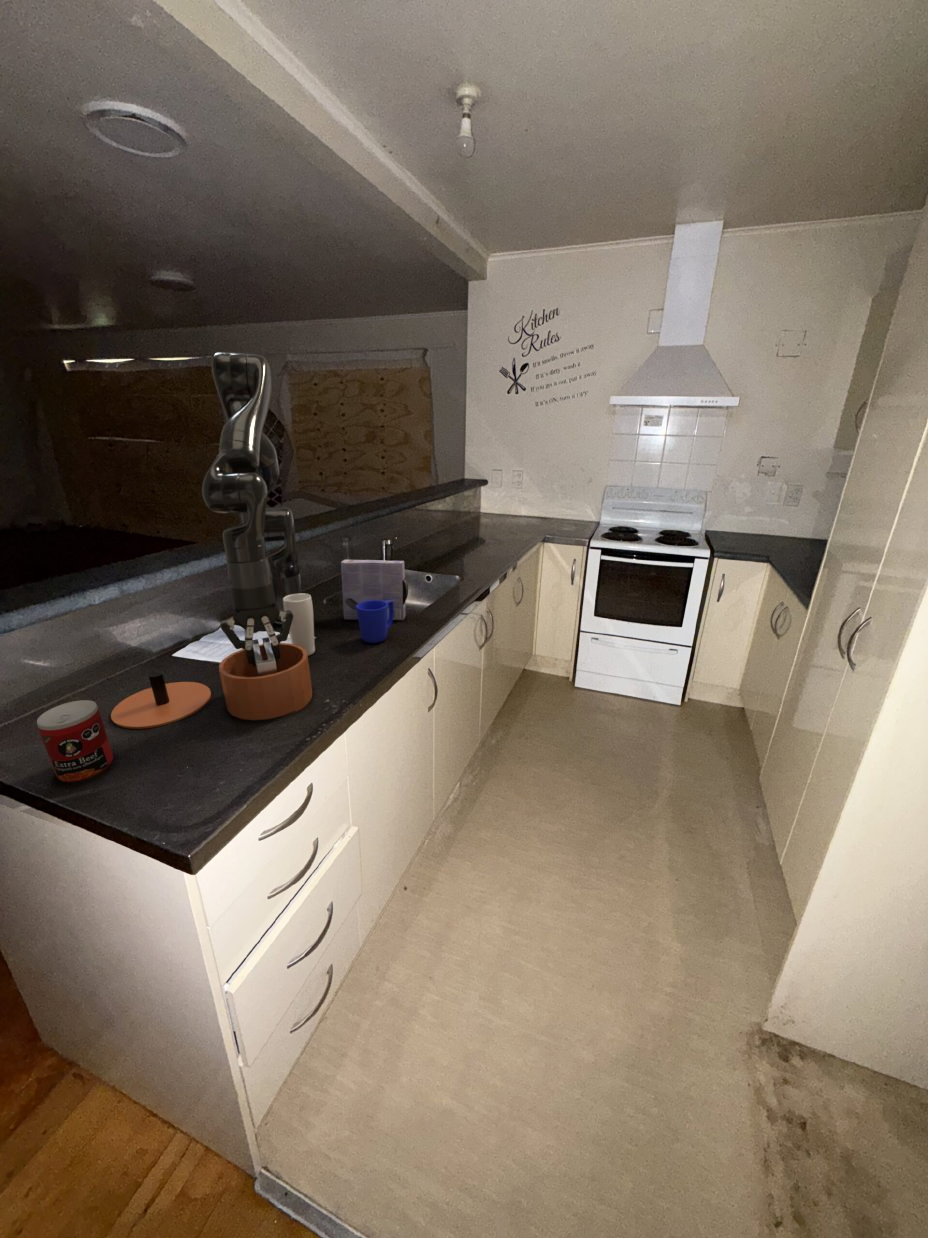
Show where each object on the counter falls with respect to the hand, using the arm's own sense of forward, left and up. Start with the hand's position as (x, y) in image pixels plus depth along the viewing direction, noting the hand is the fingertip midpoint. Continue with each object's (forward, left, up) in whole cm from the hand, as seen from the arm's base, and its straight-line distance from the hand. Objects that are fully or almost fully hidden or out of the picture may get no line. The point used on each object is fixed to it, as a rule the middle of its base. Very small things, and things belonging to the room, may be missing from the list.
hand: (264, 662), depth 98 cm
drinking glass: (-21, +10, -9) cm, 25 cm away
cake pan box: (-37, +34, -9) cm, 51 cm away
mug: (-22, +30, -9) cm, 39 cm away
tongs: (0, 0, 0) cm, 0 cm away
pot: (0, 0, -9) cm, 9 cm away
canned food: (+10, -30, -9) cm, 33 cm away
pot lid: (-7, -20, -8) cm, 23 cm away
